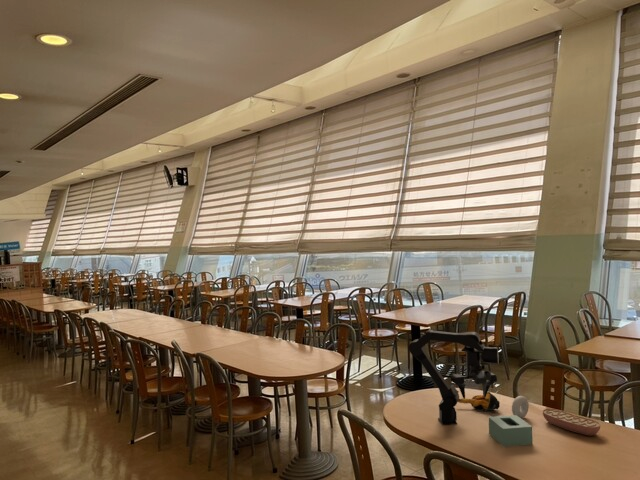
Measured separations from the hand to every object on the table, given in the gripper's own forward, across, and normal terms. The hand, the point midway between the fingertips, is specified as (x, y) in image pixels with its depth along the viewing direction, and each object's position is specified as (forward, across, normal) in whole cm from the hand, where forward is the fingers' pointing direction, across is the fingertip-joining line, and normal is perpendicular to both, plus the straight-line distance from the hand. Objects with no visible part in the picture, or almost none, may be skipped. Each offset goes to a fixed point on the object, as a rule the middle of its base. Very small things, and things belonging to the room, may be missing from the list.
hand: (474, 397), depth 202 cm
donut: (+12, +23, +4) cm, 26 cm away
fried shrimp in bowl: (+12, +10, +18) cm, 24 cm away
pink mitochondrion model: (+12, +37, -10) cm, 40 cm away
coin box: (+12, +8, -15) cm, 21 cm away
